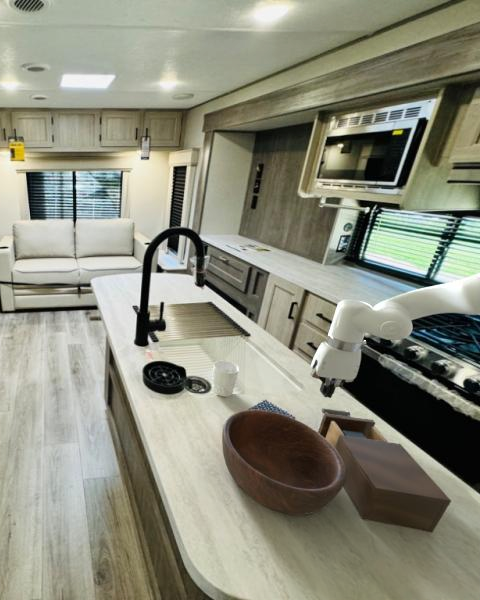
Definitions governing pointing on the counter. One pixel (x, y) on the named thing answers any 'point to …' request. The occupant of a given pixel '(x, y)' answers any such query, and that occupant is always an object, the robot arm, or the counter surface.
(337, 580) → the counter surface
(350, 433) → the block
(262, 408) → the woven mat
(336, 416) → the drawer
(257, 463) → the wooden bowl
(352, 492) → the cabinet
